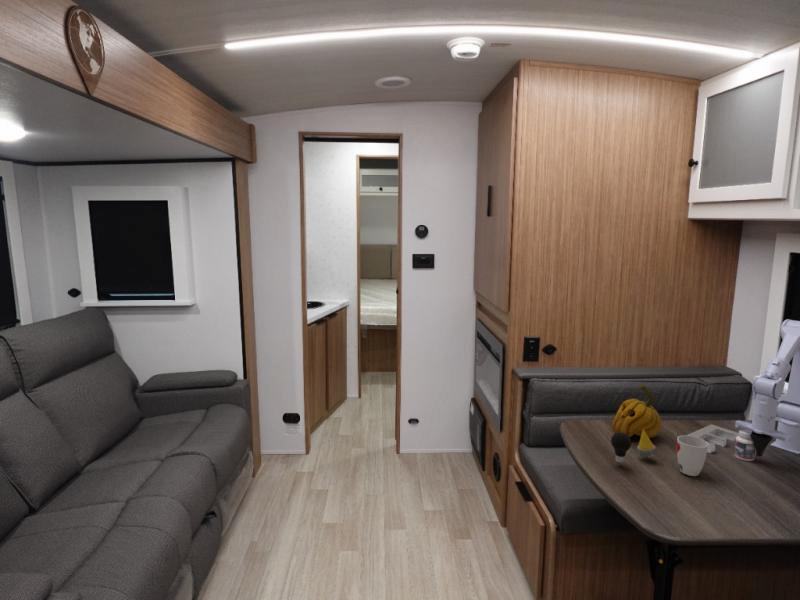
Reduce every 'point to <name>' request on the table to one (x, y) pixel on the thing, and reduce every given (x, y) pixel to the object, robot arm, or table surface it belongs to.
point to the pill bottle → (745, 446)
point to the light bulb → (620, 445)
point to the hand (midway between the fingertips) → (759, 455)
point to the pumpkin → (637, 417)
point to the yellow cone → (645, 445)
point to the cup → (691, 454)
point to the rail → (714, 436)
